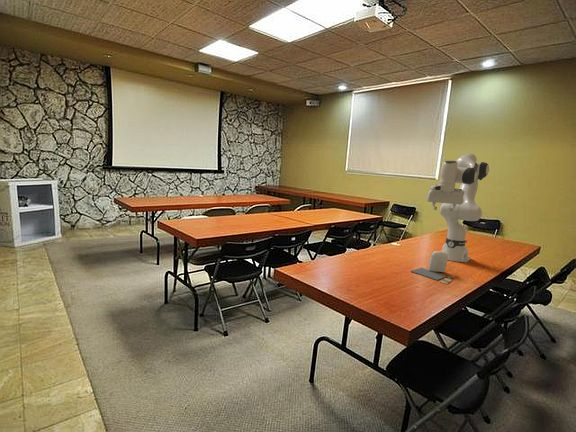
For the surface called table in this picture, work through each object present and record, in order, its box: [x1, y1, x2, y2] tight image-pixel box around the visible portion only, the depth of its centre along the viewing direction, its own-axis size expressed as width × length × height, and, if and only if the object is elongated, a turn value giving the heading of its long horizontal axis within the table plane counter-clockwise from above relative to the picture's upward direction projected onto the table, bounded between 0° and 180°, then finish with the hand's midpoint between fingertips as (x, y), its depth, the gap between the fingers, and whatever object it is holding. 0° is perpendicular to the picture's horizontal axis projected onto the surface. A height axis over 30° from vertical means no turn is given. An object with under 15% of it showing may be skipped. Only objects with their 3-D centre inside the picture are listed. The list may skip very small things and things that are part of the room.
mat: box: [410, 267, 448, 281], centre depth 189 cm, size 12×16×1 cm
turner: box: [439, 274, 454, 285], centre depth 182 cm, size 16×4×1 cm, turn 138°
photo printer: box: [427, 250, 448, 273], centre depth 194 cm, size 10×4×12 cm, turn 103°
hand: (443, 210), depth 198 cm, fingers open, 8 cm apart
